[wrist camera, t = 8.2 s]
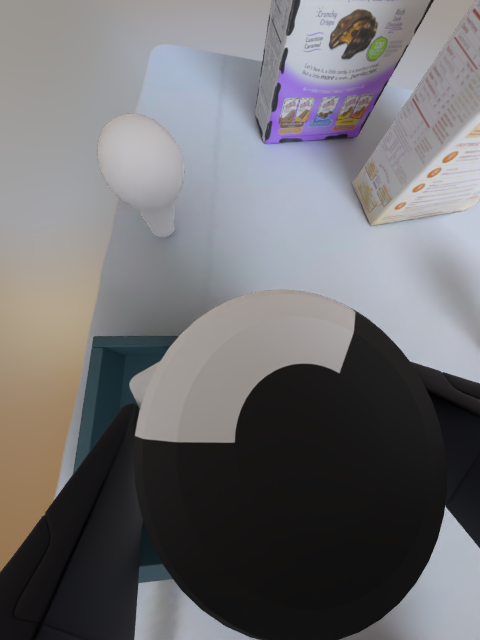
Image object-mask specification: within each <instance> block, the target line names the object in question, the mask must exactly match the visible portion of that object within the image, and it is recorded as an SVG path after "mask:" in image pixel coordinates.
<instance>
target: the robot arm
mask: <svg viewBox="0 0 480 640" xmlns="http://www.w3.org/2000/svg"><path fill="white" fill-rule="evenodd" d="M410 363H411V364H412V365H413V367H414V369H415V370H416V372H417V373H418V375H419V377H420V378H421V380H422V382H423V383H424V386H425V388H426V390H427V392H428V394H429V396H430V398H431V400H432V403H433V406H434V409H435V411H436V414H437V417H438V420H439V423H440V428H441V432H442V436H443V441H444V446H445V455H446V464H447V494H446V502H445V505H446V508H447V509H448V510H449V511H450V512H451V514H452V515H453V516H454V517H455V518H456V520H457V521H458V522H459V523H460V525H461V526H462V527H463V528H464V529H465V531H466V532H467V533H468V534H469V536H470V537H471V538H472V539H473V540H474V542H475V543H476V544H477V545H478V547H479V548H480V383H476V382H473V381H470V380H466V379H463V378H460V377H457V376H454V375H450V374H447V373H444V372H443V373H442V372H441V371H438V370H435V369H432V368H429V367H426V366H422V365H419V364H416V363H413V362H410ZM139 411H140V409H139V407H138V405H137V404H136V403H130V404H127V405H124V406H123V407H122V408H121V409H120V411H119V412H118V413H117V415H116V416H115V417H114V419H113V420H112V422H111V423H110V424H109V426H108V427H107V428H106V430H105V431H104V433H103V434H102V435H101V437H100V438H99V439H98V441H97V442H96V444H95V445H94V446H93V448H92V449H91V450H90V452H89V453H88V455H87V456H86V457H85V459H84V460H83V461H82V463H81V464H80V466H79V467H78V468H77V470H76V471H75V472H74V474H73V475H72V477H71V478H70V479H69V481H68V482H67V483H66V485H65V486H64V488H63V489H62V490H61V492H60V493H59V494H58V496H57V497H56V499H55V500H54V501H53V503H52V504H51V505H50V507H49V508H48V510H47V511H46V513H45V515H44V516H43V517H42V518H41V519H40V520H39V522H38V523H37V525H36V526H35V527H34V529H33V530H32V531H31V533H30V534H29V536H28V537H27V538H26V540H25V541H24V542H23V544H22V545H21V546H20V547H19V549H18V550H17V552H16V553H15V554H14V556H13V557H12V558H11V560H10V561H9V562H8V563H7V564H6V566H5V567H4V568H3V569H2V571H1V572H0V640H134V635H135V621H136V607H137V593H138V579H139V565H140V551H141V537H142V523H143V519H142V516H141V511H140V507H139V502H138V497H137V493H136V487H135V474H134V443H135V432H136V427H137V421H138V416H139Z"/></svg>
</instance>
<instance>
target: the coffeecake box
mask: <svg viewBox="0 0 480 640" xmlns="http://www.w3.org/2000/svg"><path fill="white" fill-rule="evenodd" d="M352 185H353V187H354V190H355V192H356V194H357V196H358V198H359V200H360V202H361V204H362V206H363V209H364V212H365V214H366V216H367V219H368V221H369V223H370V225H378V224H384V223H390V222H397V221H403V220H409V219H415V218H421V217H427V216H433V215H439V214H445V213H452V212H458V211H464V210H467V209H468V208H469V207H471V206H472V205H474V204H475V203H476V202H478V201H479V200H480V0H475V1H474V3H473V4H472V6H471V7H470V8H469V10H468V12H467V13H466V14H465V16H464V17H463V19H462V20H461V22H460V23H459V25H458V26H457V28H456V29H455V31H454V32H453V34H452V35H451V37H450V38H449V40H448V41H447V43H446V44H445V46H444V47H443V49H442V50H441V52H440V53H439V55H438V56H437V58H436V59H435V61H434V62H433V64H432V65H431V66H430V68H429V69H428V71H427V73H426V74H425V76H424V77H423V78H422V80H421V81H420V83H419V84H418V86H417V87H416V89H415V90H414V92H413V93H412V95H411V96H410V98H409V99H408V101H407V102H406V104H405V105H404V107H403V108H402V110H401V111H400V113H399V114H398V116H397V117H396V119H395V120H394V122H393V123H392V125H391V126H390V128H389V129H388V131H387V132H386V134H385V135H384V137H383V138H382V140H381V141H380V143H379V144H378V146H377V147H376V149H375V150H374V151H373V153H372V154H371V156H370V157H369V159H368V160H367V162H366V163H365V165H364V166H363V168H362V169H361V171H360V172H359V174H358V175H357V177H356V178H355V180H354V181H353V182H352Z"/></svg>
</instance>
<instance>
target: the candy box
mask: <svg viewBox="0 0 480 640" xmlns="http://www.w3.org/2000/svg"><path fill="white" fill-rule="evenodd" d="M432 3H433V0H272V1H271V8H270V15H269V21H268V28H267V35H266V41H265V49H264V55H263V62H262V68H261V75H260V82H259V89H258V95H257V102H256V109H255V115H256V119H257V123H258V125H259V129H260V133H261V136H262V139H263V142H264V143H266V144H272V143H283V142H298V141H312V140H322V139H334V138H349V137H357V136H358V135H359V133H360V131H361V129H362V128H363V126H364V124H365V122H366V120H367V119H368V117H369V115H370V113H371V111H372V110H373V108H374V106H375V104H376V102H377V101H378V99H379V97H380V95H381V93H382V92H383V90H384V88H385V86H386V84H387V82H388V80H389V79H390V77H391V76H392V74H393V72H394V70H395V68H396V67H397V65H398V63H399V61H400V59H401V58H402V56H403V54H404V52H405V51H406V48H407V47H408V45H409V44H410V42H411V40H412V38H413V36H414V35H415V33H416V31H417V29H418V27H419V26H420V24H421V22H422V20H423V19H424V17H425V15H426V13H427V11H428V9H429V8H430V6H431V4H432Z"/></svg>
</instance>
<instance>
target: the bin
mask: <svg viewBox="0 0 480 640" xmlns="http://www.w3.org/2000/svg"><path fill="white" fill-rule="evenodd" d="M178 337H179V336H95V337H93V344H92V347H93V348H92V351H91V357H90V364H89V371H88V378H87V384H86V391H85V398H84V405H83V411H82V418H81V425H80V432H79V438H78V445H77V452H76V459H75V465H74V472H75V471H76V470H77V468H78V467H79V466H80V464H81V463H82V461H83V460H84V459H85V457H86V456H87V455H88V453H89V452H90V450H91V449H92V448H93V446H94V445H95V444H96V442H97V441H98V439H99V438H100V437H101V435H102V434H103V433H104V431H105V430H106V428H107V427H108V426H109V424H110V423H111V422H112V420H113V419H114V417H115V416H116V415H117V413H118V412H119V411H120V409H121V408H122V407H123V406H124V405H127V404H130V403H136V404H137V402H136V400H135V398H134V396H133V394H132V392H131V390H130V385H129V383H130V381H131V379H132V378H133V377H134V376H135V375H137V374H139V373H140V372H142V371H144V370H146V369H147V368H149V367H151V366H153V365H154V364H156V363H158V362H160V361H161V360H162V358H163V356H164V355H165V353H166V352H167V350H168V349H169V348H170V346H171V345H172V344H173V343H174V342H175V340H176V339H177V338H178ZM137 405H138V404H137ZM138 407H139V406H138ZM139 409H140V408H139ZM74 472H73V474H74ZM168 579H173V578H172V577H171V575H170V574H169V573H168V571H167V570H166V569H165V567H164V565H163V563H162V562H161V560H160V558H159V556H158V554H157V552H156V550H155V549H154V547H153V545H152V543H151V540H150V538H149V535H148V532H147V530H146V527H145V524H144V521H143V523H142V537H141V551H140V565H139V579H138V583H142V582H151V581H160V580H168Z"/></svg>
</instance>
